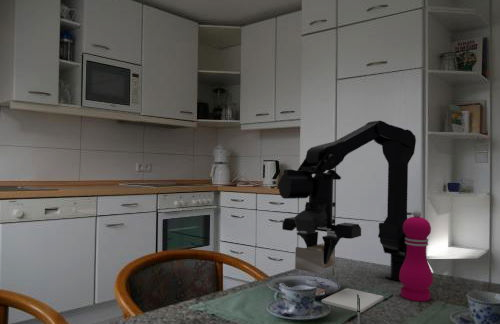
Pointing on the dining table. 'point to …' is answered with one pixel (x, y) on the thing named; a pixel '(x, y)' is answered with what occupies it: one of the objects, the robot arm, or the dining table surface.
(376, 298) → the mat
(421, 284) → the pepper mill
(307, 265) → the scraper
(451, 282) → the dining table surface
